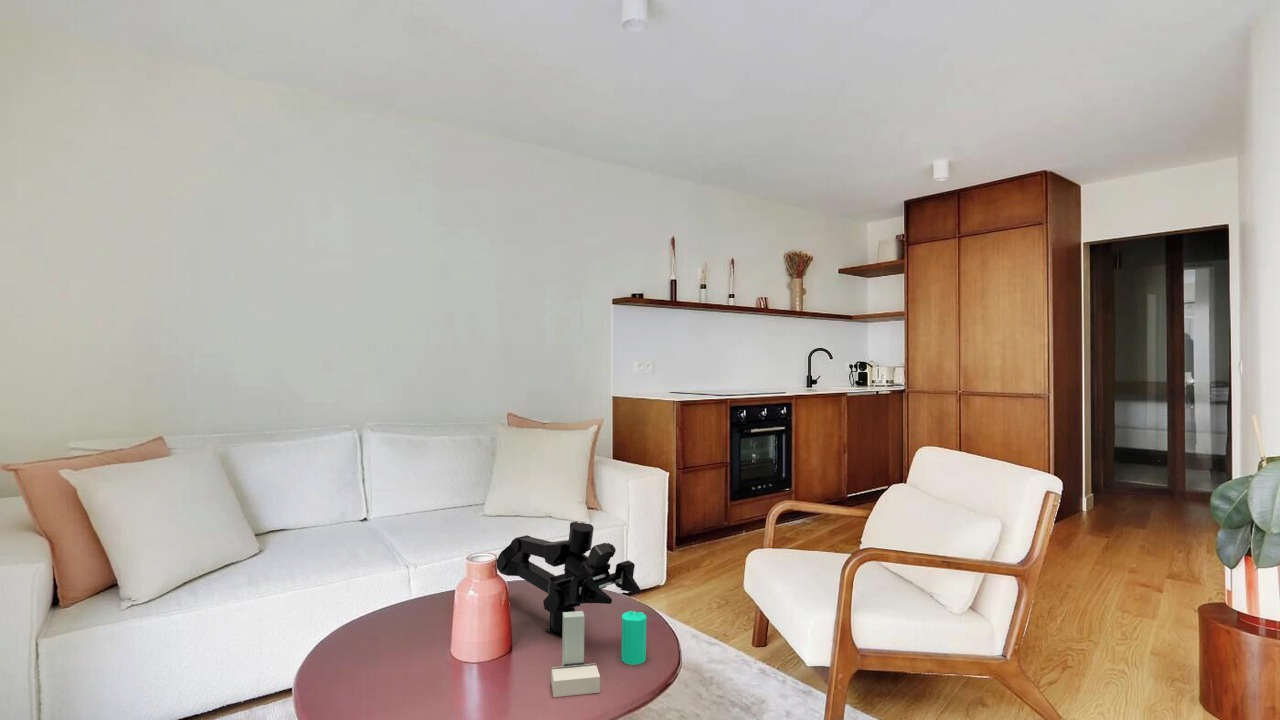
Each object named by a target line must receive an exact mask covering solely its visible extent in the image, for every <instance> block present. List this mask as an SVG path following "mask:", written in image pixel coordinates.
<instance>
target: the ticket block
mask: <svg viewBox="0 0 1280 720" xmlns="http://www.w3.org/2000/svg"><path fill="white" fill-rule="evenodd" d="M598 669H599V668H598V666H597V663H588V664H587V663H584V665H573V666H563V667H562V666H553V667H551V672H550V673H551V689H552V695H553V698H560V697H570V696H580V695H590V694H599V693H601V675H600V673H599V670H598Z"/></svg>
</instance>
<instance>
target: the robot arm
mask: <svg viewBox="0 0 1280 720" xmlns="http://www.w3.org/2000/svg"><path fill="white" fill-rule="evenodd" d="M594 529H595V528H594V525H592V524H591V523H585V522H578V521H577V520H576V521H572V522H570V523H569V532H568V533H569V534H568V540H567V539H566V540H564V539H563V540H557V541H550V540H545V539H541V538H537V537H532V536H530V535H522V536H519V537H515V538H514V539H512V541H510V544H508V546H506V547H505V548H504V549H502V551H501V552H500V554H498V557H497V558H496V561H497V567H496V569H497V571H498V572H499V573H500V574H501V575H504V576H508V577H518V578H520V579H523V580H524V581H526V582H527V583H529V584H531V585H533V586H534V587H536V588H538V589H540V590H541V591H542V592H544V593H546V594H547V596H546V597H545V598H544V599H543V609H544V610H545V611H547V612H549V626H548V627H546V628H545V632H546V633H549V634H551V635H554V636H556V637H559V638H562V634H563V612H575V611H576V607H581V604H604V605H605V604H606V605H609V604H610V605H611V604H612V603H613V599H612V597H610V595H608V594H607V593H606V592H605V591H604V590H603V589H605V588H607V587H608V586H611V585H615V586H616V588H619V589H620V590H621V591H624V592H627V593H632V594H640V593H641V588H640V586H639V584H638V583H637V582H636V580H635V578H634V573H635V567H636V566H635V564H636V563H634V562H632V561H631V560H629V559H627V560H625V561H621V562H619V563H617V564H616V565H615V571H614V572H613V573H610V571H609V570H610V569H611V564H610V563H609V562H610V559H611V558H613V557H614V556H615V554H616V551H617V549H616V547H615V546H614V544H612V543H609V542H604V543H603V542H602V543H600V544H595V545H594V546H593V547H592V543H593V536H594ZM589 551H590V552H589ZM587 552H589V554H588V555H586V554H587ZM532 556H535V557H539V558H542V559H544V561H545V563H546V564H548V565H550V566H551V567H560V566H563V565H564V569H563V571H564V573H562V574H559V575H555V574H553V573H551V572H550V571H548V570H546V569H544V568H543V567H540V566H539V565H537V564H535V563H534V562H531V561H530V558H531V557H532Z"/></svg>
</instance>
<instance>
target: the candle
mask: <svg viewBox="0 0 1280 720" xmlns="http://www.w3.org/2000/svg"><path fill="white" fill-rule="evenodd" d="M635 610H636V609H633V611H632V610H630V611H626V612H624V613H623V614H622V615H621V657H622V658H621V662H623V663H624V664H627V665H631V666H632V665H634V666H635V665H637V664H638V665H641V664H643V663H645V662H646V660H647V659H646V658H647V619H648V618H647V615H646V614H645V613H644V612H643V611H641V612H639V611H635ZM638 665H637V666H638Z"/></svg>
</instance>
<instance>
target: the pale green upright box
mask: <svg viewBox="0 0 1280 720" xmlns="http://www.w3.org/2000/svg"><path fill="white" fill-rule="evenodd" d="M561 641H562V642H561V647H562V649H561V651H562V652H561V667H563V666H573V665H584V664H585V614H584V611H583V610H579V611H578V610H575V612H563V634H562V640H561Z"/></svg>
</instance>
